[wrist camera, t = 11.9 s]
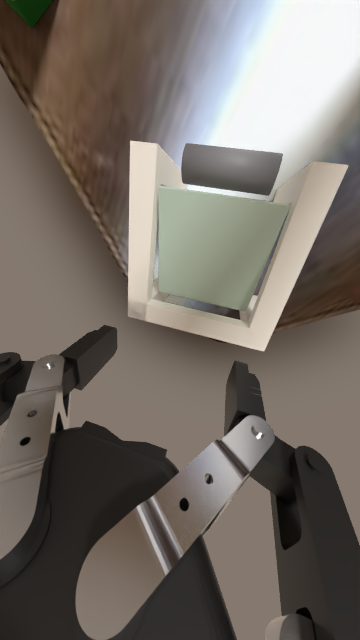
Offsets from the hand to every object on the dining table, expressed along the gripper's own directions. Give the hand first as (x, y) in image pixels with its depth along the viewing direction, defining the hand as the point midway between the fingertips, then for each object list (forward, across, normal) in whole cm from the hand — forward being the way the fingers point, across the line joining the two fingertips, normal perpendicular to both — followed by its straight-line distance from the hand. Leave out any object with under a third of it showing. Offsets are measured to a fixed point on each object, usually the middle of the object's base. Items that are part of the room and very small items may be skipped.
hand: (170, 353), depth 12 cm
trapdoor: (+21, 0, -7) cm, 22 cm away
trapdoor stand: (+30, 0, -4) cm, 30 cm away
